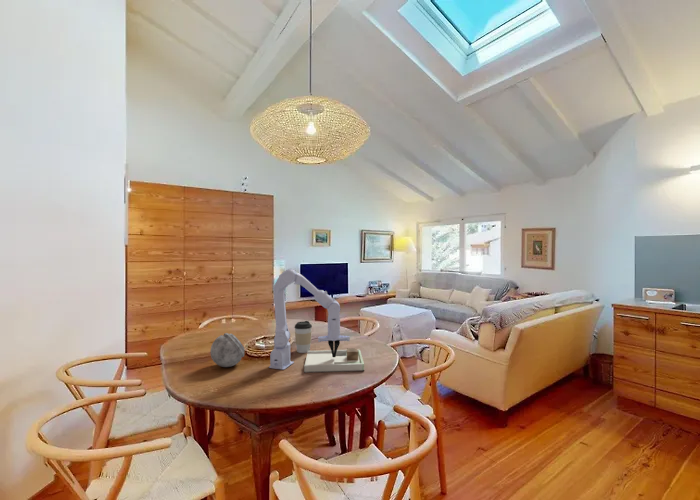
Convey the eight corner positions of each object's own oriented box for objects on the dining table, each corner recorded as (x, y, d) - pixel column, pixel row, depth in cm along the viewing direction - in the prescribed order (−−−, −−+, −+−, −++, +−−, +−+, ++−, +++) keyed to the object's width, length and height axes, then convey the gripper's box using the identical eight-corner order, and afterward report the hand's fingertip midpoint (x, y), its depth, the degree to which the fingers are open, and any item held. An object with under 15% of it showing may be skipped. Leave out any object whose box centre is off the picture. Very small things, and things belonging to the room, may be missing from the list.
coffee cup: (303, 354, 161) (303, 325, 161) (290, 351, 166) (290, 322, 166) (315, 350, 168) (315, 321, 168) (303, 347, 173) (303, 319, 173)
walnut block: (347, 360, 147) (347, 351, 147) (346, 356, 152) (346, 348, 152) (358, 360, 147) (358, 351, 147) (357, 356, 152) (357, 348, 152)
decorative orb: (249, 366, 145) (249, 333, 145) (217, 375, 136) (217, 339, 136) (237, 358, 156) (236, 327, 156) (206, 365, 147) (205, 332, 147)
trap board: (304, 372, 138) (304, 365, 138) (307, 356, 158) (307, 350, 158) (364, 371, 139) (364, 364, 139) (360, 355, 159) (360, 349, 159)
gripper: (317, 329, 144) (317, 359, 144) (350, 329, 145) (350, 359, 145) (318, 326, 151) (318, 354, 151) (349, 325, 152) (349, 354, 152)
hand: (334, 356), depth 149 cm, fingers closed
